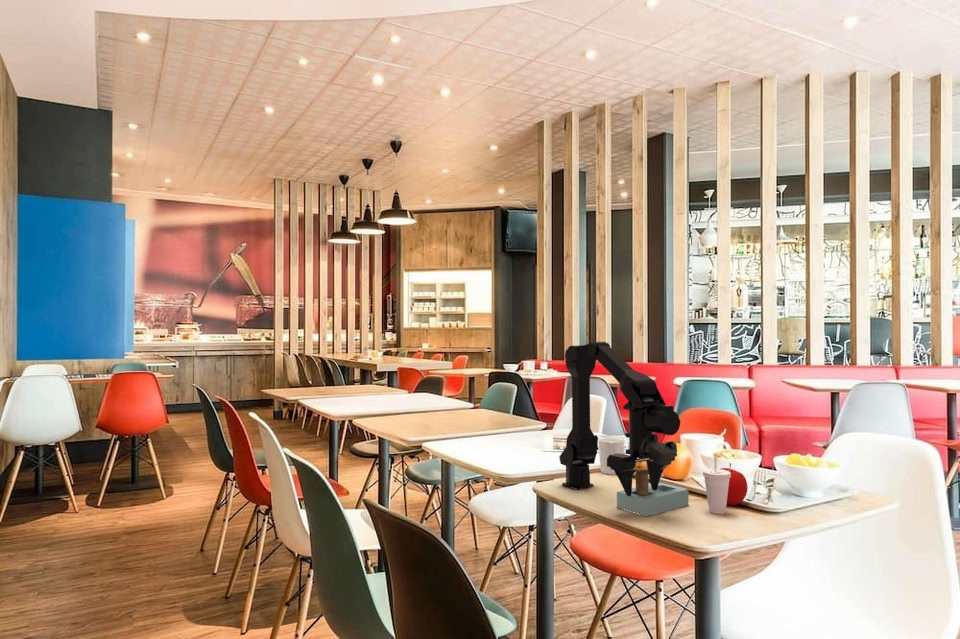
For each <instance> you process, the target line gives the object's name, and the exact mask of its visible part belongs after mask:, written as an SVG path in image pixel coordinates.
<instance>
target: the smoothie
mask: <svg viewBox="0 0 960 639" xmlns="http://www.w3.org/2000/svg"><path fill="white" fill-rule="evenodd" d="M713 457H714V461H713V463H714V468H707V469H703V470H702V476H703V477H704V484H705V490H706V497H707V498H706V499H707V504H708V506H707V507H708V510H709V511H708V512H709V513H710V514H715V515H723V514H724V515H725V514H726V512H727V505H726V504H727V495H728V487H729V478H730V477H731V473H730V472H729V471H726V470H722V469H720V468H718V454H717V453H714V456H713Z"/></svg>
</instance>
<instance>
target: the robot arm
mask: <svg viewBox="0 0 960 639" xmlns="http://www.w3.org/2000/svg"><path fill="white" fill-rule="evenodd" d="M564 360H565V368H566V369H567V371H568V373H569V374H570V376H571V402H572V403H571V410H572V413H571V414H572V415H571V423H572V426H571V427H572V428H571V429H570V431H569V433H568V435H567V437H566V444H565V448H564V449H563V451H562V452H561V454H560V455H559V457H558V458H559V463H560V464H561V466H562V465H563V466H565V482H562V483H561V486H564V487H567V488H571V489H574V490H580V489H585V488H590V487H594V484H593V483H591V471H590V465H591V464H592V465H594V464H595V462H596V457H597V454H598V451H599V437H598V435H595V434H594V432H593V430H592V429H591V381H590V380H591V379H590V378H591V376H592V374H593V372H594V370H595V369H596V364H597V362H598V363H599V364H600V365H601V366H602V367H603V368H604V369H605V370H606V371H607V372H608V373H609V374H610V375H611V376H612V377H613V378H614V379H615V380H616V381H617V382H618V384H619V390H620V391H621V393H622V395H623V396H624V398H625V399H626V400H627V403H625V404H624V405H623V406H622V409H623V410H626V411H628V432H625V438H628V439H629V440H628V443H629V444H628V448H627V449H626V448H625V453H624V454H621V453H618V454H612V455H609V456H608V457H607V466H608V467H611V469H612V470H614V472H615V473H616V476H617V478H618V480H619V482H620V485H621V486H622V488H623V490H624V491H625V493H626V495H627V496H631V493H632V488H633V475H634V474H636V470H637V469H635V468H636V466H637V464H638V463H642V462H646V466H647V467H646V468H647V470H648V479H649V484H651V487H652V490H657V487H658V484H659V482H660V481H661V477H662V474H663V472H664V470H665V469H666V468H667V467H668V466H669V465H672V462H674V461H676V457H677V456H678V445H677V443H676V442H675V441H672V440H671V441H667V442H660V441H659V436H658V434H661V435H665V436H666V435H667V436H674V435H676V434H677V432H679V430H680V427H681V419H680V416H679V414H678V413H677V412H676V411H674V405H669V404H666V402H665V400H664V397H663V396H662V394H661V392H660V390H659V388H658V386H657V383H656V381H655V380H654V379H653V378H651V377H650V376H648V375H647V374H645V373H642V372H640V371H637V370H635V369H633V368H632V367H631V366H630V365H629V364H628V362H626V361H625V360H624V359H623V358H622V357H621V356H620V355H619V354H618V353H617V352H616V351H615V350H614V349H613V348H612V347H611V345H610V344H609V343H608V342H606V341H593V342H590V343H587V344H583V345H578V344H577V345H570V346H568V347H567V349H566V350H565V352H564Z"/></svg>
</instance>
